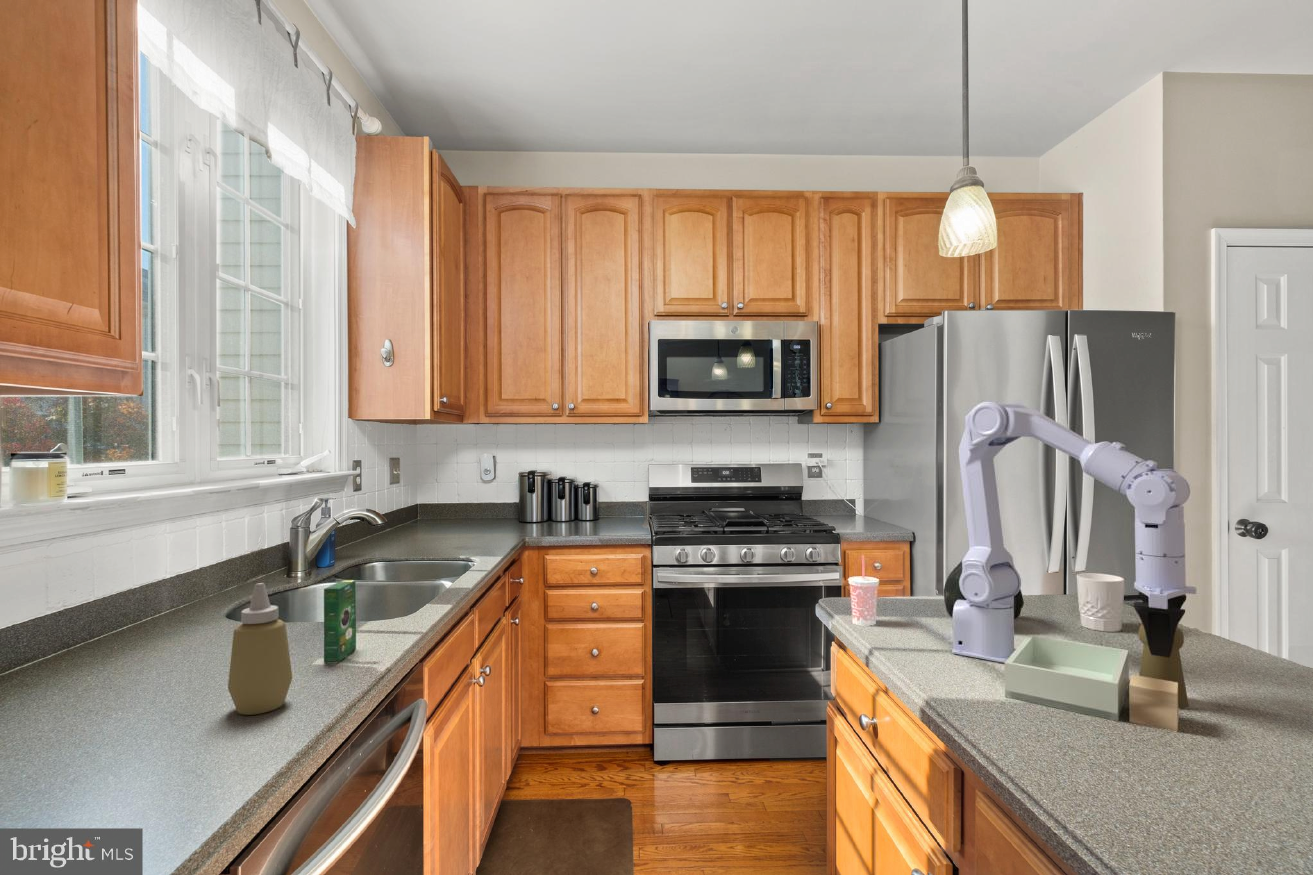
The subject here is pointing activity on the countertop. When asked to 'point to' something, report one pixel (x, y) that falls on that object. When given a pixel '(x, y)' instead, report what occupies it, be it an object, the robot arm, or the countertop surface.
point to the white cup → (1100, 601)
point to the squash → (954, 594)
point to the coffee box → (339, 621)
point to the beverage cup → (863, 598)
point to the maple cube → (1153, 702)
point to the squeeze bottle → (259, 658)
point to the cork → (1165, 665)
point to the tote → (1069, 676)
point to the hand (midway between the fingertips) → (1161, 648)
